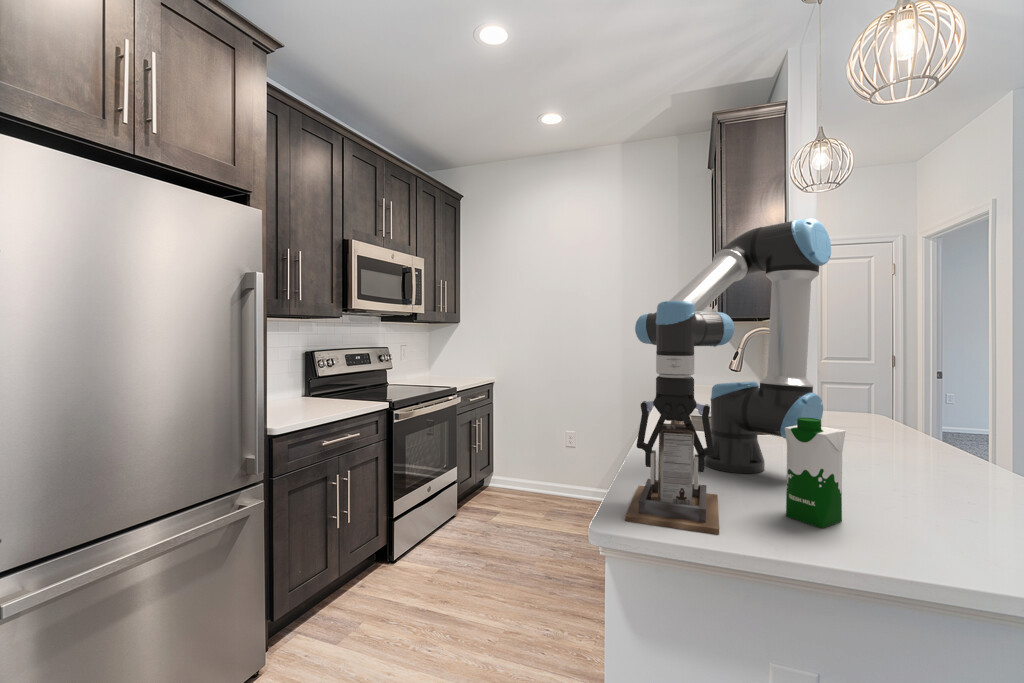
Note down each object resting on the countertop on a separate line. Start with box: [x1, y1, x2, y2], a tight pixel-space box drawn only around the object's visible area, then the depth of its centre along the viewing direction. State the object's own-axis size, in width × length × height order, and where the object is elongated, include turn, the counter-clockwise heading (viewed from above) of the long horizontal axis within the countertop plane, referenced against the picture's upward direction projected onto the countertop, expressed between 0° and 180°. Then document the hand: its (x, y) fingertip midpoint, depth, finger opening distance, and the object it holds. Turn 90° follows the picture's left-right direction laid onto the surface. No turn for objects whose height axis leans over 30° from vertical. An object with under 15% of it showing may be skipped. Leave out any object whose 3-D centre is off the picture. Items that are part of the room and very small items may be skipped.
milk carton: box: [785, 418, 846, 529], centre depth 96 cm, size 9×9×20 cm
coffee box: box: [657, 422, 695, 505], centre depth 101 cm, size 9×6×16 cm
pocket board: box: [624, 478, 720, 535], centre depth 101 cm, size 17×20×4 cm
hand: (674, 484), depth 101 cm, fingers open, 8 cm apart
